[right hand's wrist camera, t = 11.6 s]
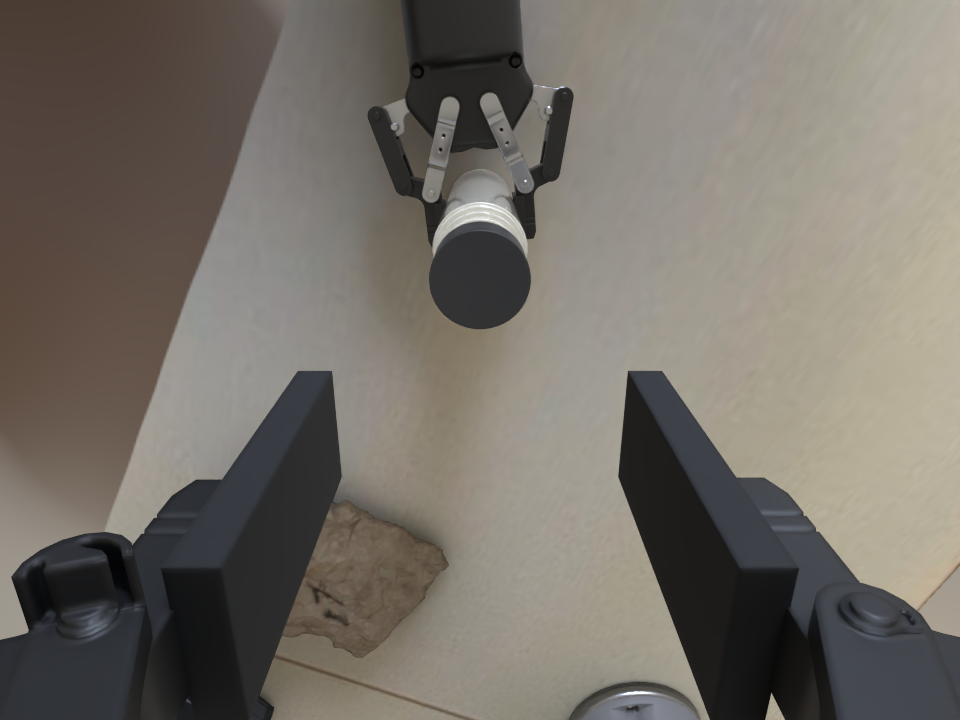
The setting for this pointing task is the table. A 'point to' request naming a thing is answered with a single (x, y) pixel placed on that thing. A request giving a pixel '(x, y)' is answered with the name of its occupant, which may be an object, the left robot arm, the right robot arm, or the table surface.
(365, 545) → the stone
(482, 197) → the bottle
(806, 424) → the table surface
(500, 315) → the cap
